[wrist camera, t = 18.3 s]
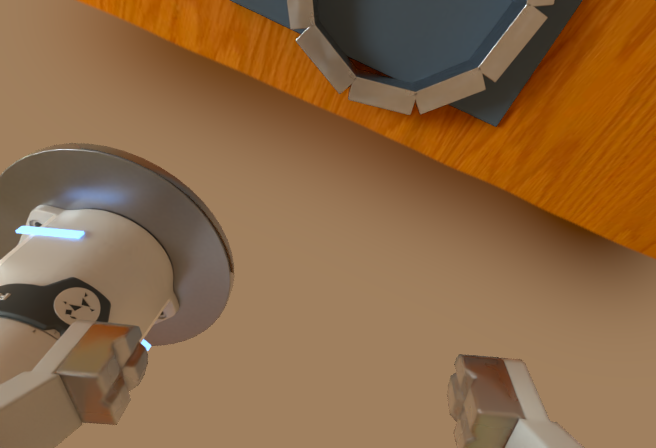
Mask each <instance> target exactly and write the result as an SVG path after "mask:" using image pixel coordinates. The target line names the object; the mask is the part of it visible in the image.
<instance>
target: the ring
mask: <svg viewBox="0 0 656 448" xmlns="http://www.w3.org/2000/svg"><path fill="white" fill-rule="evenodd" d="M554 1H555V0H513V2H512V3H511V5H510V6H509V7H508V9H507V10H506V11H505V13H504V14H503V15H502V17H501V18H500V19H499V21H498V22H497V23H496V25H495V26H494V27H493V29H492V30H491V31H490V33H489V34H488V35H487V37H486V38H485V39H484V41H483V42H482V43H481V45H480V46H479V47H478V49H477V50H476V51H475V53H474V54H473V55H472V57H471V58H470V59H469V60H468V61H465V62H463V63H460V64H458V65H455V66H453V67H450V68H448V69H445V70H443V71H440V72H438V73H436V74H433V75H431V76H428V77H426V78H423V79H421V80H418V81H416V82H413V83H409V82H406V81H402V80H398V79H394V78H390V77H386V76H382V75H378V74H374V73H370V72H367V71H363V70H359V69H357V68H356V67H355V66H354V65H353V63H352V62H351V61H350V60H349V58H348V57H347V56H346V54H345V53H344V52H343V51H342V49H341V48H340V47H339V46H338V44H337V43H336V42H335V40H334V39H333V38H332V37H331V35H330V34H329V33H328V32H327V30H326V29H325V28H324V26H323V25H322V24H321V23H320V21H319V15H318V4H317V0H287V6H288V14H289V22H290V29H291V30H294V29H304V28H307V29H306V30H305V31H304V32H303V33H302V34H301V35H300V36H299V37H298V38H297V39H296V40H295V41H296V42H297V43H298V45H299V46H300V47H301V48H302V49H303V51H304V52H305V53H306V54H307V55H308V57H309V58H310V59H311V60H312V61H313V63H314V64H315V65H316V66H317V68H318V69H319V70H320V71H321V72H322V74H323V75H324V76H325V77H326V78H327V80H328V81H329V82H330V83H331V84H332V86H333V87H334V88H335V89H336V90H337V92H338V93H339V94H341V93H342V92H343V91H344V90H345V89H346V88H348V87H349V86H350V89H349V96H348V100H351V101H355V102H359V103H363V104H367V105H371V106H375V107H379V108H383V109H387V110H391V111H395V112H399V113H403V114H407V115H411V112H412V109H413V106H414V103H416V106H417V108H418V111H419V113H420V114H423V113H426V112H428V111H431V110H434V109H436V108H439V107H441V106H444V105H447V104H449V103H452V102H455V101H457V100H460V99H463V98H465V97H468V96H470V95H473V94H476V93H478V92H481V91H484V90H486V88H485V83H484V79H483V75H485V76H486V77H488V78H489V79H490V80H492V81H493V82H496V81H497V80H498V79H499V77H500V76H501V75H502V74H503V72H504V71H505V70H506V69H507V68H508V66H509V65H510V64H511V63H512V61H513V60H514V59H515V58H516V56H517V55H518V54H519V53H520V51H521V50H522V49H523V48H524V47H525V45H526V44H527V43H528V42H529V40H530V39H531V38H532V37H533V35H534V34H535V33H536V32H537V30H538V29H539V28H540V27H541V26H542V24H543V23H544V22H545V21H546V19H547V18H548V17H547V16H546V15H545V14H543V13H542V12H541V11H539V10H538V9H537V8H536V7H538V6H549V5H553V4H554Z"/></svg>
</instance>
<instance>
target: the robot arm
mask: <svg viewBox="0 0 656 448" xmlns="http://www.w3.org/2000/svg"><path fill="white" fill-rule="evenodd" d="M15 231H16V233H21V234H22V236H21V238H20V241H19V244H18V245H17V246H16V247H15V248H14V249H13V250H12V251H10V252H9V253H8V254H7V255H6V256H4V257H3V258H2V259H1V260H0V448H54V447H56V446H57V445H58V444H59V443H61V442H62V441H63V440H64V439H65V438H67V437H68V436H69V435H70V434H72V433H73V432H74V431H75V430H76V429H78V428H79V427H80V426H81V425H82V422H83V423H97V424H98V423H99V424H112V425H117V423H118V422H119V420H120V418H121V416H122V414H123V413H124V411H125V409H126V407H127V405H128V404H129V402H130V395H129V391H131V390H132V389H133V388H135V387H136V386H138V385H139V384H140V382H141V380H142V378H143V376H144V375H145V371H146V367H147V364H148V354H147V351H148V350H149V348H150V347H151V345H150V344H149V343H148V342H147V341H146V340H144V338H145V336H146V335H147V333H148V332H149V330H150V329H151V327H152V326H153V325H155V324H157V323H159V322H162V321H164V320H166V319H168V318H171V317H173V316H174V315H175V314H176V313H177V311H178V310H179V303H178V300H177V298H176V296H175V293H174V291H173V269H172V265H171V262H170V260H169V257H168V255H167V254H166V252H165V250H164V249H163V248H162V246H161V245H160V244H159V242H158V241H157V240H156V239H155V238H154V237H153V236H152V235H151V234H150V233H148V232H147V231H146V230H145V229H143V228H142V227H141V226H139V225H138V224H136V223H134V222H133V221H131V220H129V219H127V218H125V217H122V216H120V215H117V214H115V213H111V212H108V211H103V210H97V209H79V210H64V209H60V208H56V207H52V206H48V205H39V206H37V207H36V208H35V209H34V210H32V211H31V213H30V215H29V217H28V220H27V223H26V225H25V226H21V227H20V228H18V229H17V230H15ZM454 365H455V369H456V373H455V374H453V375H451V377H450V380H449V384H448V406H449V411H450V415H451V416H452V417H453V418H454V420H455V421H456V422H457V424H456V427H455V430H454V436H455V441H456V445H457V448H584V447H583V446H582V445H581V444H580V443H579V442H578V441H577V440H576V439H574V438H573V437H572V436H571V435H570V434H569V433H568V432H567V431H566V430H565V429H563V427H561V426H560V425H559V424H558V423H557V422H551V421H550V420H549V417H548V415H547V413H546V410H545V408H544V406H543V403H542V401H541V399H540V397H539V394H538V392H537V390H536V387H535V385H534V383H533V380H532V378H531V376H530V373H529V371H528V369H527V367H526V364H525V363H524V362H523V361H522V360H520V359H508V358H498V357H486V356H475V355H462V354H460V355H458V357H457V358H456V361H455V364H454Z"/></svg>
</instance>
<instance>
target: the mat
mask: <svg viewBox="0 0 656 448" xmlns="http://www.w3.org/2000/svg"><path fill="white" fill-rule="evenodd" d="M231 1H233V2H235V3H237V4H239V5H241V6H243V7H245V8H247V9H249V10H252V11H254V12H256V13H258V14H260V15H262V16H264V17H266V18H268V19H270V20H273V21H275V22H277V23H279V24H281V25H283V26H285V27H287V28H289V29H290V22H289V14H288V6H287V0H231ZM512 2H513V0H317V4H318V15H319V21H320V23H321V24H322V25H323V26H324V28H325V29H326V30H327V32H328V33H329V34H330V35H331V37H332V38H333V39H334V40H335V42H336V43H337V44H338V46H339V47H340V48H341V49H342V51H343V52H344V53H345V54H346V56H348V57H350V58H352V59H354V60H356V61H359V62H361V63H363V64H365V65H367V66H369V67H371V68H373V69H375V70H377V71H380V72H382V73H384V74H386V75H388V76H390V77H392V78H394V79H398V80H402V81H406V82H409V83H413V82H416V81H418V80H421V79H423V78H426V77H428V76H431V75H433V74H436V73H438V72H440V71H443V70H445V69H448V68H450V67H453V66H455V65H458V64H460V63H463V62H465V61H468V60H469V59H470V58H471V57H472V55H473V54H474V53H475V51H476V50H477V49H478V47H479V46H480V45H481V43H482V42H483V41H484V39H485V38H486V37H487V35H488V34H489V33H490V31H491V30H492V29H493V27H494V26H495V25H496V23H497V22H498V21H499V19H500V18H501V17H502V15H503V14H504V13H505V11H506V10H507V9H508V7H509V6H510V5H511V3H512ZM581 2H582V0H555V1H554V4H553V5H549V6H538V7H536V8H537V9H538V10H539V11H541V12H542V13H543V14H545V15H546V16H547V17H548V18H547V19H546V21H545V22H544V23H543V24H542V26H541V27H540V28H539V29H538V30H537V32H536V33H535V34H534V35H533V37H532V38H531V39H530V40H529V42H528V43H527V44H526V45H525V47H524V48H523V49H522V50H521V51H520V53H519V54H518V55H517V56H516V58H515V59H514V60H513V61H512V63H511V64H510V65H509V66H508V68H507V69H506V70H505V71H504V72H503V74H502V75H501V76H500V77H499V79H498V80H497V81H496V82H493V81H492V80H490V79H489V78H488V77H486V76H485V75H483V79H484V83H485V88H486V90H484V91H481V92H478V93H476V94H473V95H470V96H468V97H465V98H463V99H460V100H457V101H455V102H452V103H449V105H451V106H453V107H455V108H457V109H459V110H461V111H464V112H466V113H468V114H470V115H472V116H474V117H476V118H478V119H480V120H482V121H485V122H487V123H489V124H491V125H493V126H495V127H496V126H497V125H498V123H499V122H500V121H501V119H502V118H503V116H504V115H505V113H506V112H507V110H508V109H509V107H510V106H511V104H512V103H513V101H514V100H515V99H516V97H517V96H518V94H519V93H520V91H521V90H522V88H523V87H524V85H525V84H526V82H527V81H528V79H529V78H530V77H531V75H532V74H533V72H534V71H535V69H536V68H537V66H538V65H539V63H540V62H541V60H542V59H543V57H544V56H545V55H546V53H547V52H548V50H549V49H550V47H551V46H552V44H553V43H554V41H555V40H556V38H557V37H558V35H559V34H560V33H561V31H562V30H563V28H564V27H565V25H566V24H567V22H568V21H569V19H570V18H571V16H572V15H573V13H574V12H575V11H576V9H577V8H578V6H579V5H580V3H581ZM306 29H307V28H304V29H294V30H293V31H296V32H298V33H300V34H302V33H303V32H304V31H305V30H306Z"/></svg>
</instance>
